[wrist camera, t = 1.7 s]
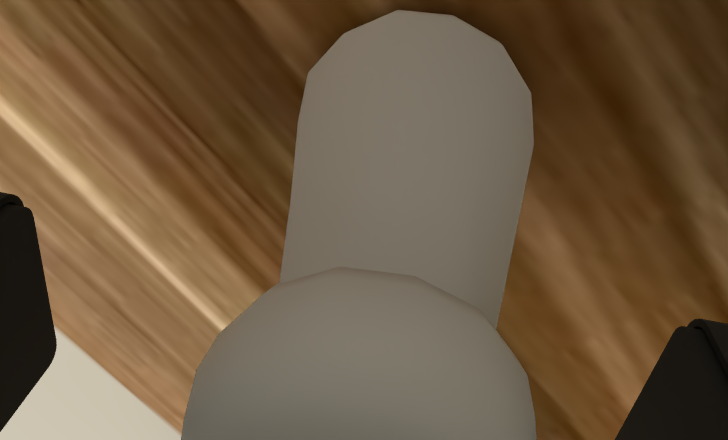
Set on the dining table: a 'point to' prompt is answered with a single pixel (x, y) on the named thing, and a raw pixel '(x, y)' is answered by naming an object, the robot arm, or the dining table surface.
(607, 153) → the dining table surface
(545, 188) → the dining table surface
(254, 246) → the dining table surface
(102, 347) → the dining table surface
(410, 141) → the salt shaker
